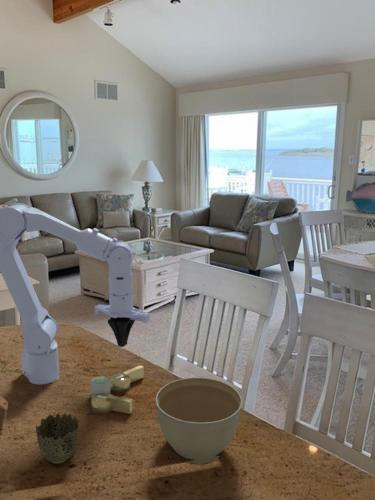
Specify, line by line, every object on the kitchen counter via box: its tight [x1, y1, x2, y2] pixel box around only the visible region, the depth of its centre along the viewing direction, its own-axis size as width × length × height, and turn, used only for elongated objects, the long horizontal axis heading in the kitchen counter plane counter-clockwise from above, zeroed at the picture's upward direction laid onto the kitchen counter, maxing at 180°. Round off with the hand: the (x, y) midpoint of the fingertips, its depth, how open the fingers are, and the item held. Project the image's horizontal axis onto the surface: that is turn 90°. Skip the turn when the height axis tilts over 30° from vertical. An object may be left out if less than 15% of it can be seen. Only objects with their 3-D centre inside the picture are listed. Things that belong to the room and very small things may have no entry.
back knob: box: [109, 365, 145, 393], centre depth 110 cm, size 9×5×3 cm, turn 135°
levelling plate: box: [89, 375, 112, 399], centre depth 105 cm, size 17×17×6 cm
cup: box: [35, 413, 80, 464], centre depth 83 cm, size 8×7×8 cm
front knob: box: [90, 393, 133, 415], centre depth 99 cm, size 9×5×3 cm, turn 71°
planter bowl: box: [155, 377, 243, 465], centre depth 87 cm, size 16×16×11 cm
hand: (122, 345), depth 114 cm, fingers closed
